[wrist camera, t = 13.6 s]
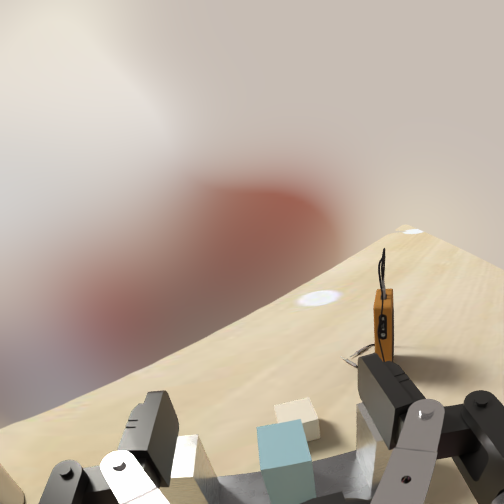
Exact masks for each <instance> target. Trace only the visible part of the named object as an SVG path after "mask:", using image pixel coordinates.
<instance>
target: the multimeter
mask: <svg viewBox="0 0 504 504" xmlns="http://www.w3.org/2000/svg"><path fill="white" fill-rule="evenodd" d="M381 261H382V262H381ZM380 263H381V275H380ZM384 271H385V248H384V249H383V254H382V258H381V260H380V261H379V265H378V274H379V281H380V288H381V289H377V291H376V297H375V302H374V333H375V344H371V345H368V346H366V347H364V348H362V349H360V350H359V351H356V353H355V354H359V353H360V352H362V351H363V350H365V349H366V348H368V347H369V346H372V345H375V353H377V354H378V356H379V357H380V358H381V360H382V361H383V362H386V361H391V362H393V355H394V308H393V289H385V284H384ZM381 277H382V280H381ZM381 281H382V282H381ZM355 354H353V355H352V356H354V355H355ZM352 356H350V357H352ZM341 358H342V359H344V358H343V357H341ZM344 360H345V362H348V363H349V364H351V365H353V366H355V367H358V366H357V365H356V364H355V363H353V362H351V361H349V360H348V359H344Z"/></svg>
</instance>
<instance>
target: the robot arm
mask: <svg viewBox="0 0 504 504" xmlns="http://www.w3.org/2000/svg"><path fill="white" fill-rule="evenodd" d="M358 391H359V395H360V398H361V400H362V402H363V404H364V406H365V407H366V409H367V411H368V413H369V415H370V417H371V418H372V420H373V422H374V424H375V426H376V428H377V429H378V431H379V433H380V435H381V437H382V439H383V441H384V442H385V444H386V446H387V448H388V450H392V449H393V451H392V454H391V456H390V459H389V461H388V464H387V466H386V469H385V471H384V474H383V476H382V478H381V481H380V483H379V485H378V488H377V490H376V492H375V494H374V497H373V499H372V501H371V500H366V499H359V498H344V495H343V492H342V491H341V492H337V493H333V494H329V495H325V496H321V497H316V498H312V499H310V500H307V501H305V502H303V503H300V504H424V501H425V498H426V494H427V491H428V488H429V484H430V481H431V477H432V474H433V470H434V466H435V462H436V459H442V458H448V457H452V459H453V461H454V462H455V464H456V466H457V467H458V469H459V471H460V472H461V474H462V476H463V478H464V479H465V481H466V483H467V485H468V486H469V488H470V490H471V492H472V493H473V495H474V497H475V499H476V500H477V502H478V504H504V406H503V405H502V403H501V402H500V401H499V400H498V399H497V398H496V397H495V396H494V395H493V394H492V393H490V392H488V391H483V390H479V391H474V392H471V393H470V394H468V395H467V396H466V398H465V400H464V404H459V405H453V406H446V407H443V405H442V404H441V403H440V402H438V401H436V400H433V399H426V398H425V397H424V396H423V394H422V393H421V392H420V391H419V389H418V388H417V387H416V386H415V385H414V383H413V382H412V381H411V380H410V379H409V377H408V376H407V375H406V374H405V372H404V371H403V370H402V369H401V367H400V366H399V365H397V364H395V363H393V362H391V361H386V362H383V361H382V360H381V358H380V357H379V356H378V354H377V353H373V354H369V355H366V356H362V357H359V358H358ZM178 432H179V422H178V418H177V415H176V413H175V410H174V408H173V405H172V403H171V400H170V398H169V395H168V393H167V392H166V391H153V392H148V393H147V396H146V399H145V401H144V403H143V404H138V405H137V406H136V407H135V408H134V409H133V410H132V411H131V414H130V416H129V419H128V422H127V424H126V428H125V430H124V432H123V435H122V438H121V441H120V443H119V446H118V449H117V451H116V452H113V453H111V454H109V455H107V456H106V457H105V458H104V459H103V461H102V463H101V465H98V466H93V467H87V468H82V466H81V465H80V464H79V463H78V462H77V461H74V460H65V461H62V462H60V463H58V464H57V465H56V466H55V467H54V468H53V470H52V472H51V475H50V477H49V479H48V482H47V484H46V487H45V489H44V492H43V494H42V497H41V499H40V502H39V504H170V503H169V502H168V501H167V499H166V498H165V497H164V496H163V494H162V493H161V492H160V491H159V488H160V487H169V486H170V479H171V473H172V467H173V461H174V455H175V449H176V444H177V438H178ZM0 504H24V494H23V491H22V490H21V488H20V487H19V486H18V485H17V484H16V482H15V481H14V480H13V479H12V478H11V476H10V475H9V474H8V473H7V471H6V470H5V469H4V468H3V466H2V465H1V464H0Z"/></svg>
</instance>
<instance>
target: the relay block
mask: <svg viewBox="0 0 504 504" xmlns="http://www.w3.org/2000/svg"><path fill="white" fill-rule="evenodd" d="M274 410H275V415H276V419H277V423H283V422H288V421H293V420H297V419H301V422H302V425H303V429H304V433H305V436H306V440H307V442H308V441H312V440H316V439H319V438H320V428H319V419H318V416H317V414H316V412H315V410H314V407H313V405H312V403H311V401H310V398H309V397H306V398H303V399H299V400H295V401H291V402H287V403H282V404H278V405H274Z"/></svg>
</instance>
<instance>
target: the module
mask: <svg viewBox="0 0 504 504" xmlns="http://www.w3.org/2000/svg"><path fill="white" fill-rule="evenodd" d="M257 437H258V448H259V459H260V470H261V473H262V476H263V480H264V483H265V486H266V489H267V492H268V495H269V498H270V501H271V504H300V503H303V502H305V501H307V500H310V499H312V498H316V491H315V482H314V474H313V465H312V459H311V455H310V451H309V448H308V444H307V440H306V436H305V433H304V429H303V425H302V422H301V419H297V420H293V421H288V422H283V423H277V424H272V425H266V426H260V427H257Z"/></svg>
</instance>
